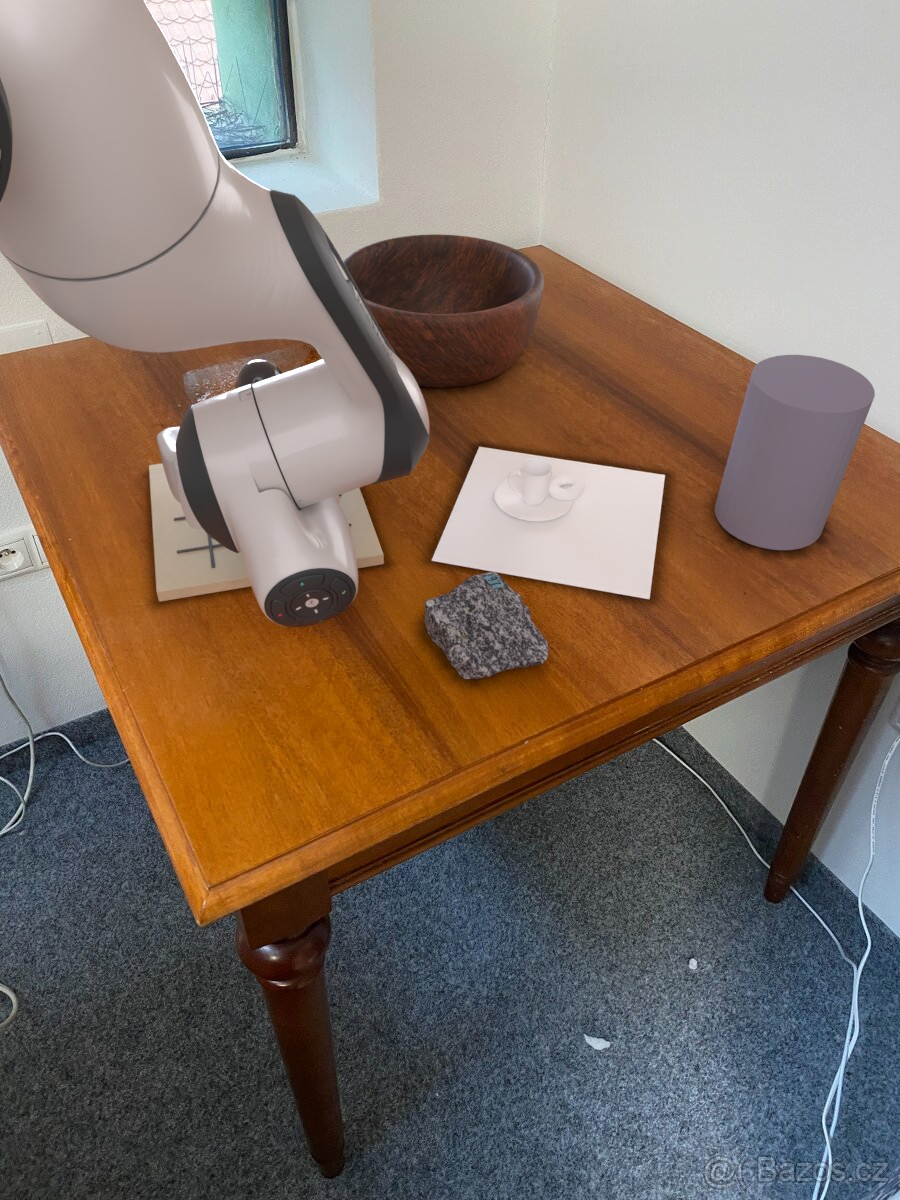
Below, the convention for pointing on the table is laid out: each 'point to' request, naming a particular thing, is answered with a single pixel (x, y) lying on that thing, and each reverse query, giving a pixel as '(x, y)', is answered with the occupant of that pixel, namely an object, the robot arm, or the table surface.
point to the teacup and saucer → (556, 522)
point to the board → (208, 566)
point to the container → (791, 450)
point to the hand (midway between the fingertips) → (262, 405)
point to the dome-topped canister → (256, 372)
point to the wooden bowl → (450, 304)
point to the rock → (484, 628)
